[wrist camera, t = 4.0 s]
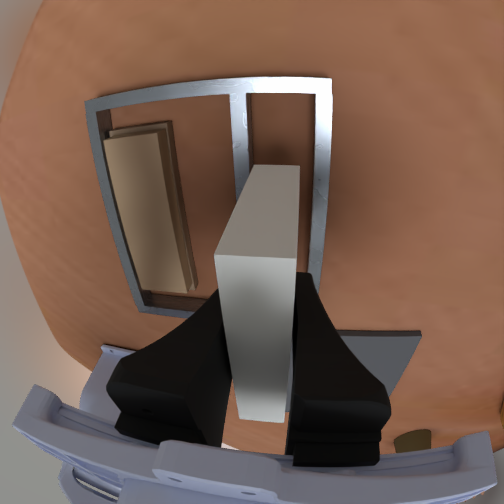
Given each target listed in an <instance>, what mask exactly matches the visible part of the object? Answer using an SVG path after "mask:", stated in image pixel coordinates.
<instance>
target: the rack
mask: <svg viewBox="0 0 504 504" xmlns="http://www.w3.org/2000/svg"><path fill="white" fill-rule="evenodd" d="M331 85H332V79H331V78H322V77H296V76H261V77H235V78H220V79H208V80H197V81H188V82H180V83H172V84H165V85H159V86H152V87H146V88H141V89H135V90H130V91H125V92H120V93H115V94H111V95H106V96H102V97H98V98H94V99H91V100H88V101H84V102H85V109H86V119H87V125H88V131H89V137H90V142H91V147H92V152H93V157H94V162H95V167H96V171H97V176H98V180H99V184H100V189H101V193H102V197H103V201H104V205H105V208H106V212H107V216H108V220H109V223H110V227H111V230H112V234H113V237H114V241H115V244H116V247H117V250H118V254H119V257H120V260H121V263H122V266H123V269H124V272H125V275H126V278H127V281H128V284H129V287H130V290H131V293H132V295H133V298H134V301H135V304H136V305H137V308H138V310H139V312H142V313H149V314H157V315H164V316H172V317H180V318H189V317H190V316H191V315H192V314H193V313H195V312H196V311H197V310H198V309H199V308H200V307H201V306H202V305H203V304H204V303H205V302H206V301H207V300H208V299H197V298H187V297H177V296H168V295H158V294H151V291H150V290H145V289H142V287H141V284H140V281H139V278H138V275H137V272H136V268H135V265H134V262H133V259H132V255H131V252H130V249H129V245H128V242H127V238H126V235H125V231H124V228H123V224H122V220H121V217H120V213H119V209H118V205H117V201H116V197H115V193H114V188H113V184H112V180H111V175H110V171H109V166H108V161H107V157H106V152H105V146H104V140H106V139H108V138H110V133H109V131H111V130H112V124H111V117H110V110H109V109H111V108H116V107H121V106H127V105H133V104H139V103H145V102H152V101H159V100H166V99H174V98H183V97H193V96H204V95H217V94H230V110H231V126H232V142H233V157H234V172H235V187H236V202H237V201H238V199H239V197H240V194H241V192H242V190H243V188H244V186H245V183H246V181H247V179H248V177H249V175H250V173H251V170H252V168H253V166H254V164H253V141H252V117H251V94H250V93H315V115H314V161H313V187H312V207H311V225H310V240H309V254H308V268H307V273H311V274H312V277H313V281H314V285H315V288H316V290H317V293H319V285H320V276H321V267H322V258H323V248H324V238H325V227H326V216H327V203H328V190H329V174H330V156H331V133H332V94H331Z"/></svg>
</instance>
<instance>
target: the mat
mask: <svg viewBox="0 0 504 504" xmlns="http://www.w3.org/2000/svg"><path fill="white" fill-rule="evenodd" d="M337 332H338V334H339V335H340V337H341V338H342V339H343V341H344V342H345V344H346V345H347V346H348V348H349V349H350V350H351V351H352V352H353V354H354V355H355V356H356V357H357V358H358V360H359V361H360V362H361V363H362V364H363V365H364V366H365V367H366V368H367V369H368V370H369V371H370V372H371V373H372V374H373V375H374V376H375V377H376V378H377V379H378V380H379V381H381V382H382V383H383V384H384V385H385V388H386V390H387V393H388V397H389V396H390V395H391V393H392V391H393V390H394V388H395V386H396V384H397V383H398V381H399V379H400V377H401V376H402V374H403V372H404V370H405V368H406V367H407V365H408V363H409V361H410V359H411V357H412V355H413V353H414V351H415V349H416V347H417V345H418V343H419V341H420V339H421V337H422V334H421V331H345V330H337ZM292 379H293V358H292V342H291V354H290V366H289V377H288V387H287V397H286V407H285V412H289V411H290V401H291V391H292Z"/></svg>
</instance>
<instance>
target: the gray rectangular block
mask: <svg viewBox="0 0 504 504" xmlns="http://www.w3.org/2000/svg"><path fill="white" fill-rule="evenodd" d="M299 186H300V166H295V165H254V166H253V168H252V170H251V173H250V175H249V177H248V179H247V181H246V183H245V186H244V188H243V190H242V192H241V194H240V197H239V199H238V201H237V203H236V206H235V208H234V210H233V212H232V214H231V217H230V219H229V221H228V223H227V226H226V228H225V230H224V232H223V235H222V237H221V239H220V242H219V244H218V246H217V248H216V251H215V253H214V260H215V267H216V274H217V282H218V289H219V296H220V303H221V309H222V316H223V323H224V329H225V336H226V342H227V348H228V354H229V360H230V366H231V372H232V378H233V384H234V390H235V396H236V401H237V407H238V412H239V418H240V419H247V420H256V421H267V422H279V423H284V416H285V407H286V397H287V387H288V377H289V366H290V354H291V342H292V328H293V314H294V298H295V282H296V266H297V245H298V220H299Z"/></svg>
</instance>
